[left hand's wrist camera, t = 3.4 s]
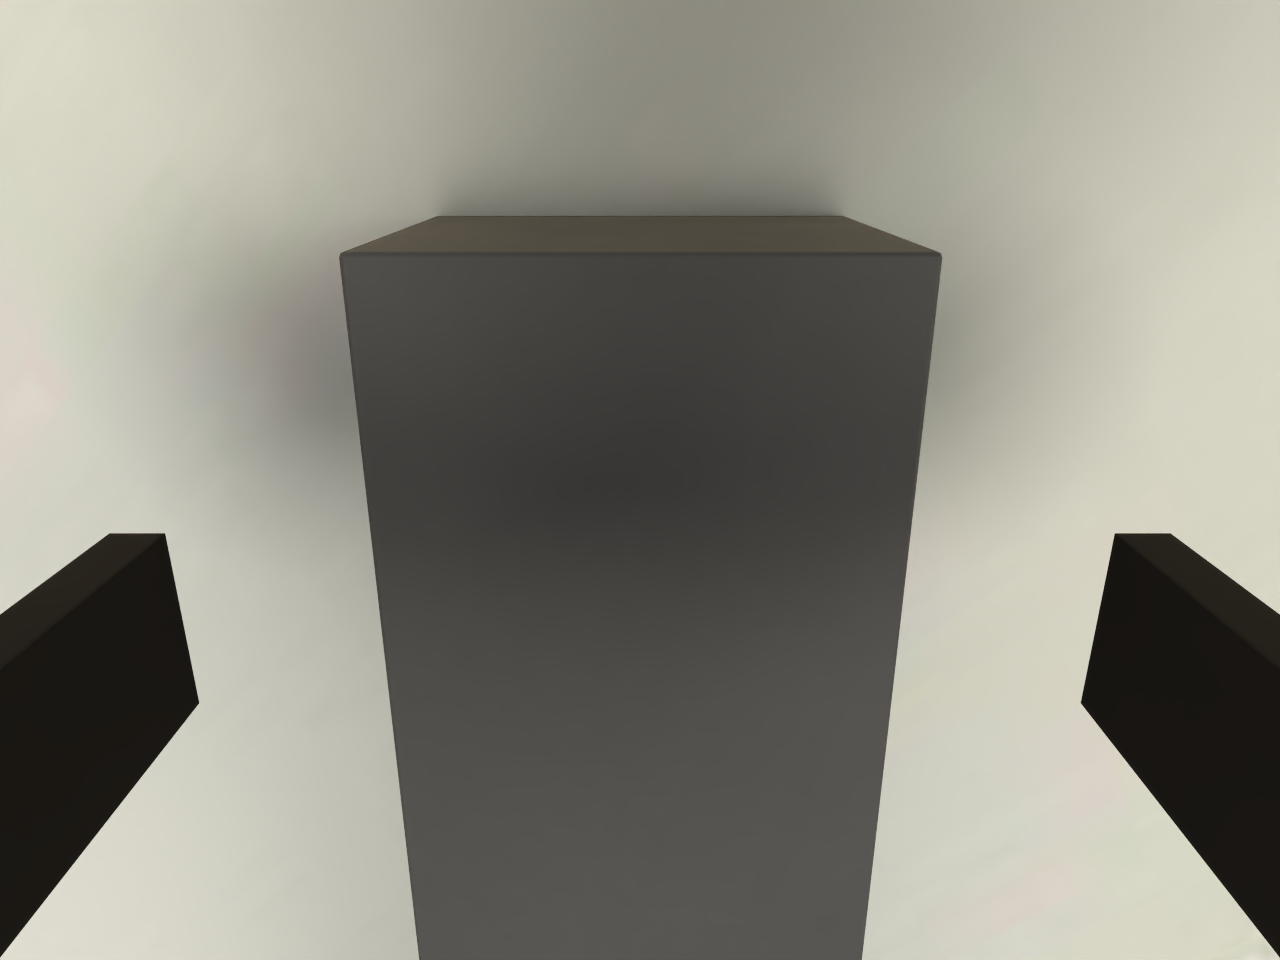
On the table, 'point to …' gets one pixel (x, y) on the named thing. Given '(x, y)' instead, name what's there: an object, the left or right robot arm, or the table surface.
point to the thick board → (640, 571)
